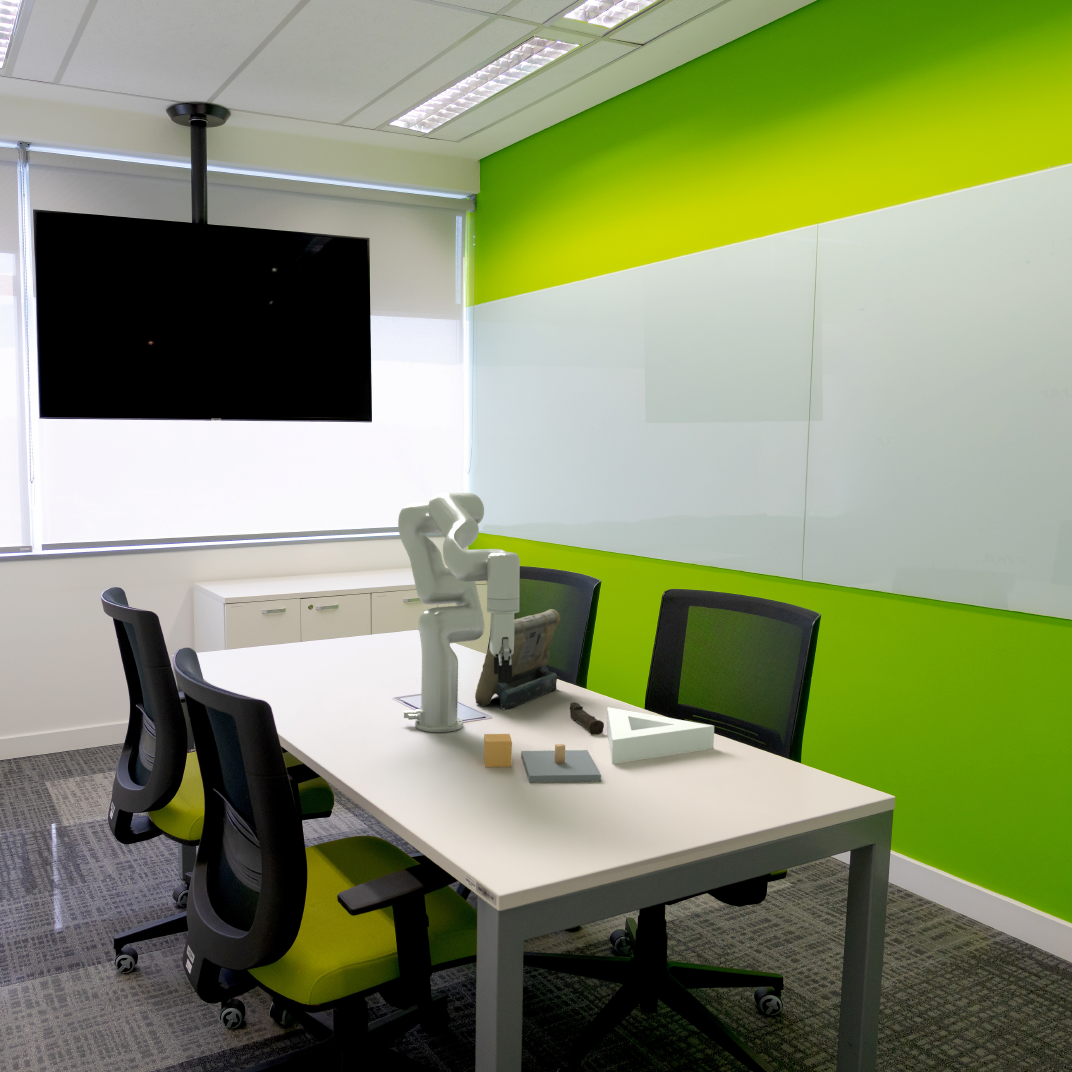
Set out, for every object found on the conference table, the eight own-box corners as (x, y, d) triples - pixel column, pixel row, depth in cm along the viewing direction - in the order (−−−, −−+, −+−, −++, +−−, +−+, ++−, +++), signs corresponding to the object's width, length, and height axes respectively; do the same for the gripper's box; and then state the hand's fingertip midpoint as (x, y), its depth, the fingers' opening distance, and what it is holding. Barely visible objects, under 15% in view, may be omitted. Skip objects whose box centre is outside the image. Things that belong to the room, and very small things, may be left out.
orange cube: (485, 767, 227) (485, 741, 226) (483, 758, 233) (484, 734, 232) (511, 766, 227) (511, 741, 227) (509, 758, 233) (509, 733, 233)
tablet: (521, 682, 310) (523, 604, 308) (561, 688, 304) (563, 608, 302) (471, 705, 281) (473, 619, 279) (515, 712, 275) (517, 624, 273)
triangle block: (606, 730, 261) (607, 707, 261) (704, 733, 260) (705, 710, 260) (611, 766, 231) (612, 740, 231) (722, 769, 231) (723, 743, 230)
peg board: (529, 782, 217) (530, 758, 216) (521, 757, 235) (521, 734, 234) (600, 781, 219) (601, 757, 218) (587, 756, 237) (587, 733, 236)
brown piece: (604, 735, 256) (604, 717, 255) (589, 736, 254) (590, 718, 254) (580, 716, 274) (580, 700, 273) (566, 717, 272) (567, 700, 272)
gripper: (484, 600, 237) (483, 671, 238) (490, 610, 220) (489, 686, 221) (515, 600, 238) (514, 670, 239) (523, 610, 221) (523, 685, 222)
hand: (502, 678), depth 230 cm, fingers open, 9 cm apart
